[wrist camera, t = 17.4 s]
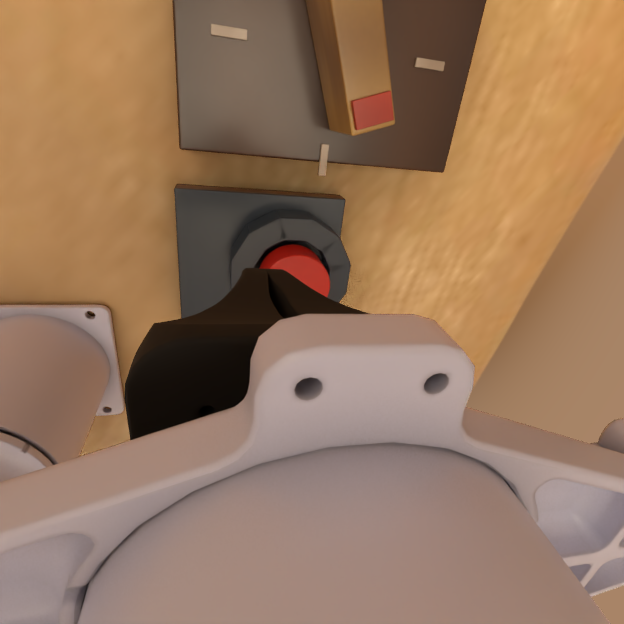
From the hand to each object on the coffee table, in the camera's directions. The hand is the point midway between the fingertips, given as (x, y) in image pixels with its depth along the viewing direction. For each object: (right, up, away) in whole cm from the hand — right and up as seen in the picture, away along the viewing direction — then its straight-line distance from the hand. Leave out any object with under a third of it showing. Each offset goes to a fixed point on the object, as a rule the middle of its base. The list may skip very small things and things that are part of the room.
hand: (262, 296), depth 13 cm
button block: (-1, +3, +10) cm, 11 cm away
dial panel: (+2, +12, +6) cm, 14 cm away
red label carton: (+3, +11, +3) cm, 11 cm away
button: (0, +1, +8) cm, 8 cm away
